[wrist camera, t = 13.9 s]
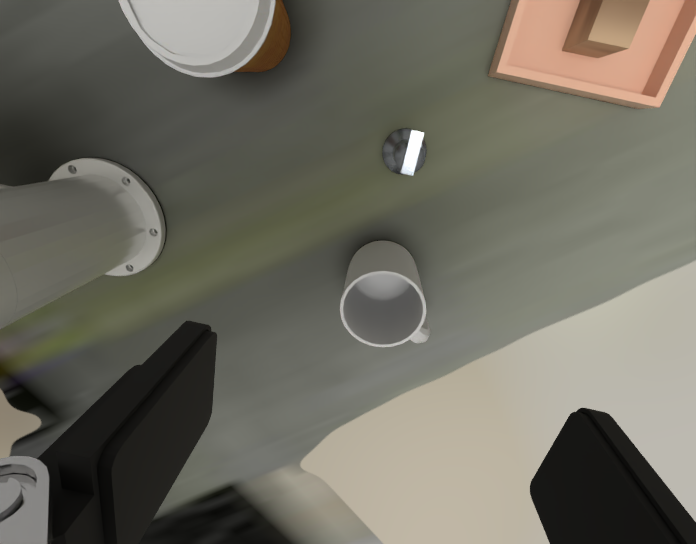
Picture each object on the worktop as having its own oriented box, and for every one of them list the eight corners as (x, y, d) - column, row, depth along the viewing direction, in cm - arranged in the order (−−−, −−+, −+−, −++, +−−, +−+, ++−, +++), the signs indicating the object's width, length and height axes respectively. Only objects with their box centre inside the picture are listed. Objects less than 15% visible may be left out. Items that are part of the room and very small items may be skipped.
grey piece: (378, 168, 34) (377, 180, 27) (388, 124, 33) (390, 123, 25) (418, 177, 34) (430, 192, 27) (431, 133, 33) (446, 136, 25)
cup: (384, 224, 36) (385, 253, 28) (447, 290, 39) (465, 334, 30) (334, 269, 39) (322, 308, 30) (397, 329, 41) (401, 380, 33)
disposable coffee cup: (202, -49, 29) (93, -155, 18) (317, -27, 29) (277, -121, 18) (200, 81, 33) (108, 59, 22) (302, 101, 33) (261, 88, 22)
